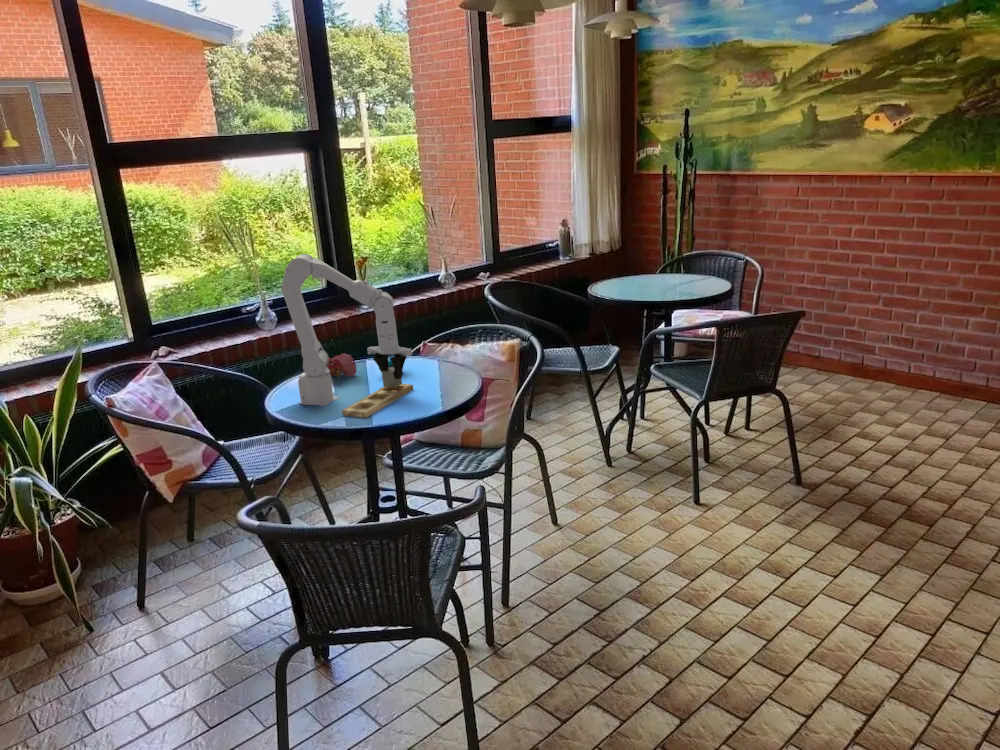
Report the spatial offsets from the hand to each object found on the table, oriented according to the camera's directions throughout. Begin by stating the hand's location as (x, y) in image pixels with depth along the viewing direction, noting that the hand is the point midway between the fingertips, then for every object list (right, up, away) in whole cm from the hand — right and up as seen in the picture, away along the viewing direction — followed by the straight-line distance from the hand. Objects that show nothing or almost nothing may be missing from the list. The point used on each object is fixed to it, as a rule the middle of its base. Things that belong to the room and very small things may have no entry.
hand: (392, 377), depth 224 cm
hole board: (-3, -8, -5) cm, 10 cm away
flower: (-21, 0, +23) cm, 32 cm away
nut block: (0, -2, 0) cm, 2 cm away
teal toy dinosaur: (-3, +1, +23) cm, 23 cm away
